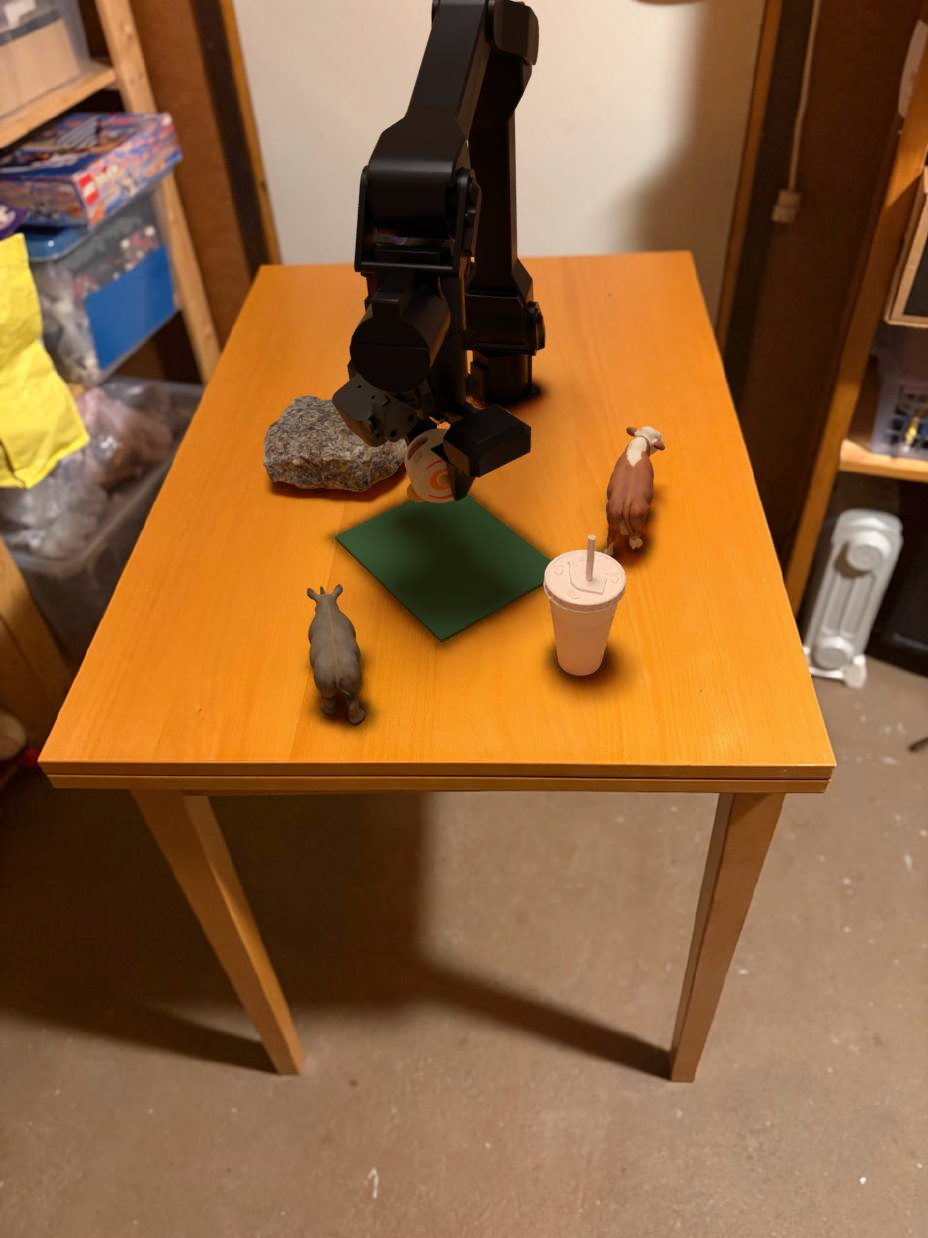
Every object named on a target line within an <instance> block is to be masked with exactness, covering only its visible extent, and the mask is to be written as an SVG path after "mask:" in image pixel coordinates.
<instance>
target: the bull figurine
mask: <svg viewBox="0 0 928 1238" xmlns="http://www.w3.org/2000/svg"><path fill="white" fill-rule="evenodd" d="M625 430H626V434H628V435H629V436H630V437H633V439H632V440H631V441H630V442H629V443H628V444H627V445H626V447H625V449H624V451H623V452H622V453H621V454H620V456H619V457H618V458H617V460H616V462H615V465H614V468H613V470H612V472H611V474H610V478H609V482H608V484H607V487H606V498H607V502H606V504H605V513H606V522H607V526H608V527H607V531H608V532H607V536H606V547H605V549H604V550H603V554H606V555H608V556H610V557H612V556H613V555H614V548H613V547H614V543H615V541H616V538H617V534H618V531H619V532H620V534H621V535H623V536H628V535H629V538H628V542H629V546H630V547H631V549H632V550H635V549H636V548H637V549H640V547H642V546H643V545H644V544H643V543H644V542H643V540H642V539H641V538H640V537H641V535H642V529H641V528H642V526H644V524H645V522H646V520H647V517H648V515H649V512H650V506H651V505H652V503H653V499H654V479H655V471H654V466H653V463H652V461H651V459H650V457H651V456H652V455H654V454H656V453H657V452H658V451H662V452H663V451H665V448H666V445H665V440H664V439H663V438H662V437H663V436H662V433H661V432H659V431H658V430H657V429H655V428H653V427H652V426H650V425H646V426H643V427H642V428H641V429H640V430H639V429H637V427H633V426H628V427H626V429H625Z"/></svg>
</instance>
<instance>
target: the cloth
mask: <svg viewBox="0 0 928 1238" xmlns="http://www.w3.org/2000/svg"><path fill="white" fill-rule="evenodd" d="M334 539H335V540H336V541H337V542H339V544H340V545H341V546H342V547H343V548H344V549H346V551H347V552H348V553H350V555H351V556H352V557H353V558H355V560H356V561H358V562H359V563H360V564H361V566H363V567H364V568H365V570H367V571H368V572H369V573H370V574H371V575H372V576H373V578H375V579H376V580H377V581H378V582H379V583H380V584H381V585H382V586H383V587H384V588H385V589H386V590H387V591H388V592H389V593H390V594H391V595H393V597H394V598H395V599H397V600H398V601H399V602H400V604H401V605H403V607H405V608H406V609H407V611H408V612H409V613H411V614H412V615H413V616H414V617H415V618H416V619H417V620H418V621H419V622H420V623H421V624H422V625H423V626H424V627H425V628H426V629H427V630H428V631H429V632H430V633H431V634H433V636H435V638H436V639H438V641H440V642H441V643H443V642H445V641H446V640H448V639H450V638H452V637H454V636H456V635H457V634H458V633H461V632H462V631H465V630H466V629H468V628H469V627H471V626H473V625H474V624H476V623H478V622H480V621H482V620H483V619H485V618H487V617H488V616H491V615H492V614H494V613H495V612H497V611H500V610H501V609H503V608H504V607H506V606H508V605H510V604H512V603H513V602H515V601H516V600H518V599H520V598H522V597H524V596H525V595H528V594H529V593H531V592H533V591H534V590H536V589H538V588H540V587H542V586H544V585H543V583H544V577H545V570H546V568H547V566H548V565H549V563H550V562H551V561H552V560H551V559H549V558H548V557H546V556H545V555H544V554H543V553H542V552H540V551H539V550H538V549H537V548H535V547H534V546H533V545H532V544H530V543H529V542H528V541H527V540H525V539H524V538H523V537H522V536H520V535H519V534H518V533H517V532H515V531H514V530H512V528H510V527H509V526H508V525H506V524H505V523H504V522H503V521H501V520H500V519H499V518H498V517H497V516H495V515H494V514H493V513H492V512H490V511H489V510H488V509H486V508H485V507H484V506H483V505H481V504H480V503H479V502H478V501H476V500H475V499H474V498H472V496H470V495H469V494H467V495H466V497H465V498H463V499H461V500H459V501H456V500H453V501H450V502H446V503H433V502H428V501H424V502H415V501H412V500H411V499H409V500H407V501H405V502H403V503H400V504H399V505H397V506H394V507H392V508H390V509H388V510H386V511H384V512H382V513H380V514H378V515H375V516H374V517H372V518H370V519H367V520H365V521H364V522H361V523H359V524H357V525H355V526H353V527H351V528H348V529H347V530H345V531H343V532H341V533H339V534H337V535H335V536H334Z"/></svg>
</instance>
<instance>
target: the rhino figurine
mask: <svg viewBox="0 0 928 1238" xmlns="http://www.w3.org/2000/svg"><path fill="white" fill-rule="evenodd" d="M343 588H344V587H343V584H341V583H339V584H337V585H336V586H335V587H334V589H333V590H332V592H331V593H326V591H325V589H324V586H323V585H320V586H319V594H318V593H317V592H316V591H315V590H314V589H312V588H310V587H307V588H306V595H307V597H308V598H309V599H310V600H312V601H314V602H315V607H314V616H313V617H312V620H311V623H310V624H309V627H308V631H307V635H308V636H307V638H308V639H307V640H308V642H309V644H310V647H309V651H308V652H309V654H308V655H309V657H308V658H309V663H310V666H311V668H312V670H313V675H312V676H313V681H314V685H315V687H316V689H317V690H318V692H319V693H320V694H321V696H322V697H323V700H322V702H321V704H320V706H319V707H320V710H321V711H323V712H324V713H326V714H328V715H329V714H330V715H331V714H334V713H336V711H337V709H338V701H337V693H338V691H340V692H342V694H343V695H344V697H345V700H346V706H347V710H348V711H347V717H348V721H349V722H350V723H351V724H358V723H360V722H362V721H363V720H364V718H365V716H366V712H365V711H364V710H363V709H362V708H361V707H360V699H359V698H360V697H359V695H360V691H361V688H362V684H363V673H362V669H361V666H360V661H361V649H360V646H359V644H358V642H357V632H356V629H355V626H354V624H353V622H352V620H351V619H350V618H349V617H348V616H347V615H346V614H345V613H344V612H343V611H342V610H341V609H340V607H339V605H338V602H337V601H338V598H339V597H340V596H341V595H342V593H343V592H344V589H343Z"/></svg>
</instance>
